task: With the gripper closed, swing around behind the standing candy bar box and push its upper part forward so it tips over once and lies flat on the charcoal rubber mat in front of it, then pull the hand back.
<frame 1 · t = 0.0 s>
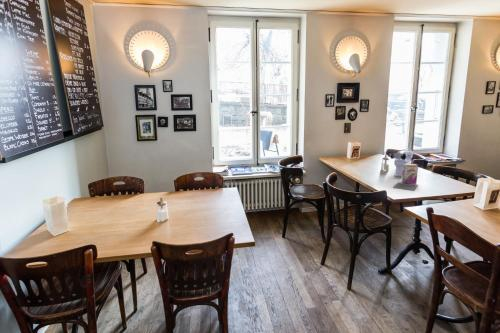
hand: (396, 156, 280), 22 cm above the table, tool horizontal, fingers open, 7 cm apart
candy bar box: (408, 183, 277), on the table
mat: (405, 186, 267), on the table
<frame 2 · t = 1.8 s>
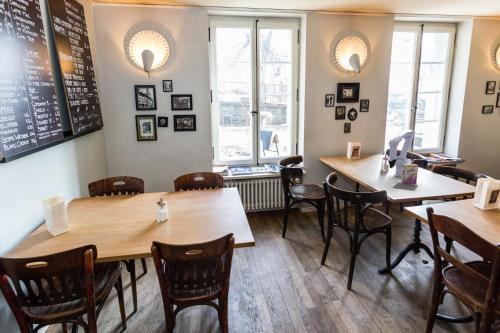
hand: (391, 167, 289), 10 cm above the table, tool pointing down, fingers open, 5 cm apart
nothing on the table moved.
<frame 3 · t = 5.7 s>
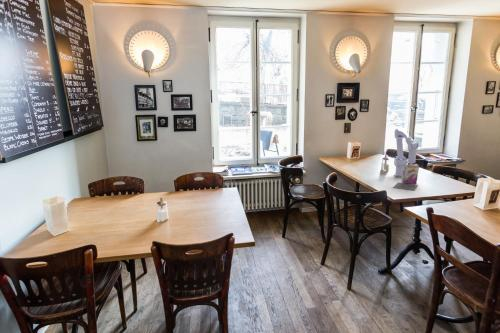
hand: (410, 171, 278), 9 cm above the table, tool pointing down, fingers closed
candy bar box: (408, 182, 277), on the table, touching gripper
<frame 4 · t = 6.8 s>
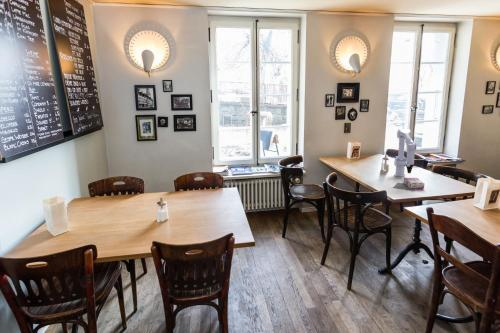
hand: (409, 173, 272), 9 cm above the table, tool pointing down, fingers closed
candy bar box: (410, 180, 274), point 3 cm above the table, touching mat
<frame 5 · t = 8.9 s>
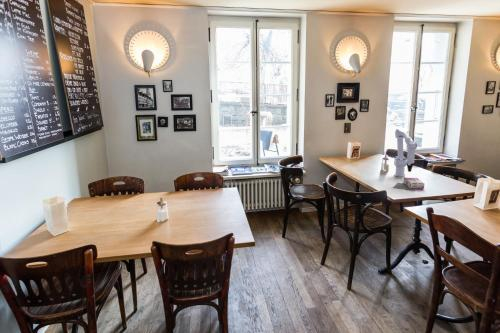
hand: (409, 171, 277), 9 cm above the table, tool pointing down, fingers closed
nothing on the table moved.
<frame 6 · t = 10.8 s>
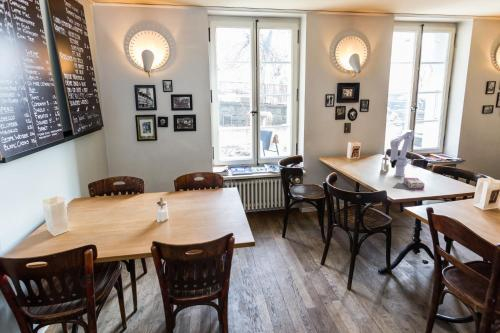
hand: (393, 167, 288), 10 cm above the table, tool pointing down, fingers closed
nothing on the table moved.
at the end: candy bar box tilted 89°; candy bar box inside the target area (2.9 cm from its centre), point 2.8 cm above the table; candy bar box touching mat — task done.
